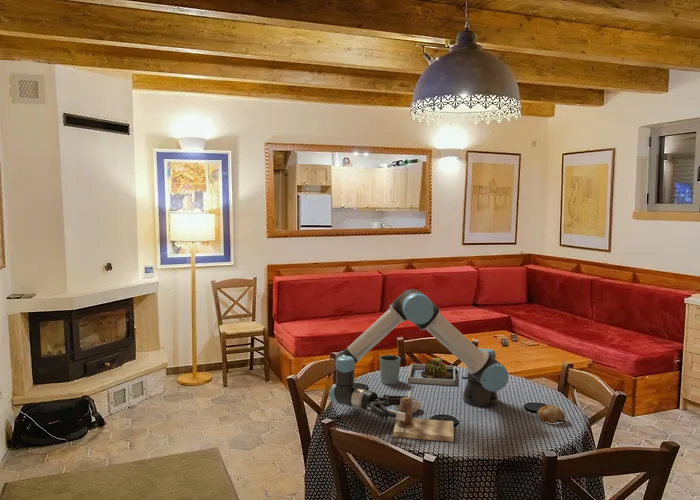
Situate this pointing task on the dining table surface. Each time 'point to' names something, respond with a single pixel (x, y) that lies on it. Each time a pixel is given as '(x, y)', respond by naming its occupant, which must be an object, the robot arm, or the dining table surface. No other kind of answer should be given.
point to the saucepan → (412, 399)
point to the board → (426, 430)
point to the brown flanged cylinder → (406, 412)
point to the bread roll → (551, 414)
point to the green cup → (389, 369)
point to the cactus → (436, 370)
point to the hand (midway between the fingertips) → (413, 411)
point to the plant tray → (429, 380)
